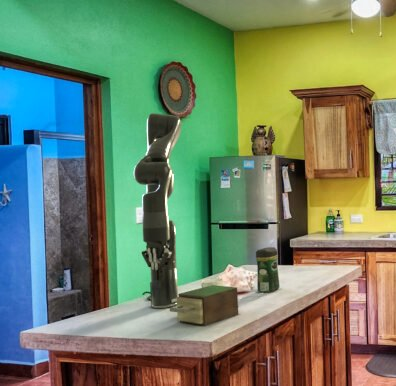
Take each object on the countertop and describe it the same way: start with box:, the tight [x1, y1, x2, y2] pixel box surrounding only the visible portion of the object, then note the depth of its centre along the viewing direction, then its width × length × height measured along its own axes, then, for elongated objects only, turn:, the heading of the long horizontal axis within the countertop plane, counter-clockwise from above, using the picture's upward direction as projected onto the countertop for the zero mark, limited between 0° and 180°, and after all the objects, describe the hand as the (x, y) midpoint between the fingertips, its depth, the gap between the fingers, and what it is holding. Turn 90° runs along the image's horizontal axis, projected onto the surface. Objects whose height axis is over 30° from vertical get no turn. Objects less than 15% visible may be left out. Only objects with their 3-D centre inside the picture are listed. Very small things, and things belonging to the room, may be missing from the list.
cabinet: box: [178, 285, 239, 327], centre depth 168 cm, size 15×13×10 cm
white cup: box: [200, 277, 224, 288], centre depth 185 cm, size 8×8×10 cm
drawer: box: [169, 296, 204, 324], centre depth 165 cm, size 18×11×8 cm, turn 151°
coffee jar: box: [255, 246, 281, 294], centre depth 209 cm, size 10×8×19 cm
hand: (158, 281), depth 152 cm, fingers closed
